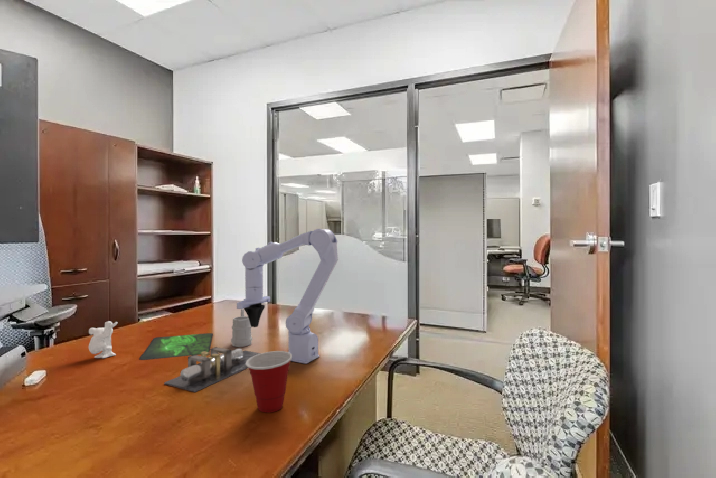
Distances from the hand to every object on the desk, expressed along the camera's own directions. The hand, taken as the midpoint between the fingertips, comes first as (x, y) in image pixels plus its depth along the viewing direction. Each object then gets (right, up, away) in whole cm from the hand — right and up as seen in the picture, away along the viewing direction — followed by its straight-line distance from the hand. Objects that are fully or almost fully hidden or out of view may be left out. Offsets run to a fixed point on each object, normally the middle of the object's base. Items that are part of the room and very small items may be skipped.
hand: (254, 326), depth 125 cm
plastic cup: (+14, -11, -38) cm, 41 cm away
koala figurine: (-51, -10, -1) cm, 52 cm away
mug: (-9, -10, +15) cm, 20 cm away
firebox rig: (-6, -10, -13) cm, 17 cm away
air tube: (-8, -9, -16) cm, 20 cm away
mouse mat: (-31, -10, +11) cm, 35 cm away
